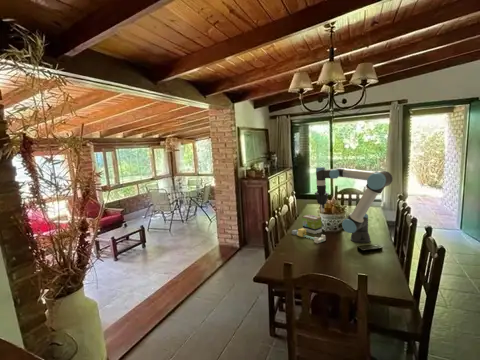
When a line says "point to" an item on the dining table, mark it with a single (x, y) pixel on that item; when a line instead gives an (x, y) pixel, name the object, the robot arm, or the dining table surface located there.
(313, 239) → the cord
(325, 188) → the robot arm
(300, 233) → the sleeve
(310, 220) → the tea box
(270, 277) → the dining table surface
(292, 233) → the connector
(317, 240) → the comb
